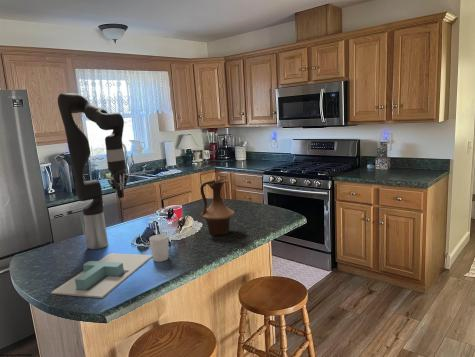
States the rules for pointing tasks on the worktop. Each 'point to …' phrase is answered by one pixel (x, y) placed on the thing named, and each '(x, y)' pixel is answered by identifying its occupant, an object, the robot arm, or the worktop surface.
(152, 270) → the worktop surface
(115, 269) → the t block
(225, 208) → the pitcher
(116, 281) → the mat
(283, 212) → the worktop surface
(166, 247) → the white cup
